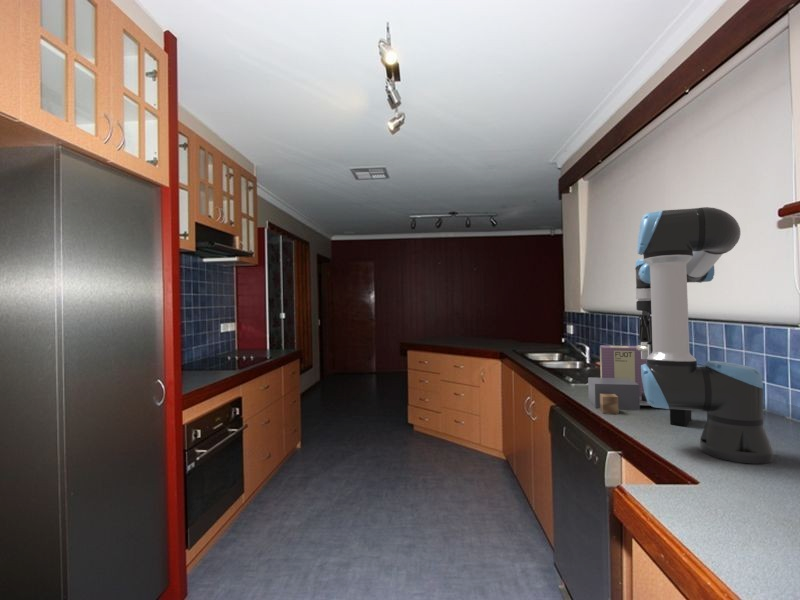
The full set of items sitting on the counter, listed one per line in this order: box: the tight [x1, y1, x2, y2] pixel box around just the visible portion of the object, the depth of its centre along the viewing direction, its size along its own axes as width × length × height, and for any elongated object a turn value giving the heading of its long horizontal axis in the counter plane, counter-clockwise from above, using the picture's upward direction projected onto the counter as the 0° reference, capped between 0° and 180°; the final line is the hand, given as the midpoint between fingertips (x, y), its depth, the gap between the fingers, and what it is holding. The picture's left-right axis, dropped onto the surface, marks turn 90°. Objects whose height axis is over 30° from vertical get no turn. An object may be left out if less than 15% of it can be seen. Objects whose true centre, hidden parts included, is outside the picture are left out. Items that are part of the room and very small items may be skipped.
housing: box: [587, 377, 641, 411], centre depth 169 cm, size 15×14×9 cm
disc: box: [635, 344, 648, 351], centre depth 166 cm, size 8×8×2 cm
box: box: [599, 344, 647, 397], centre depth 188 cm, size 17×9×20 cm, turn 69°
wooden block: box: [599, 394, 619, 415], centre depth 158 cm, size 5×5×6 cm
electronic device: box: [669, 409, 692, 427], centre depth 143 cm, size 4×10×10 cm, turn 137°
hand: (648, 360), depth 166 cm, fingers closed on disc, 8 cm apart
